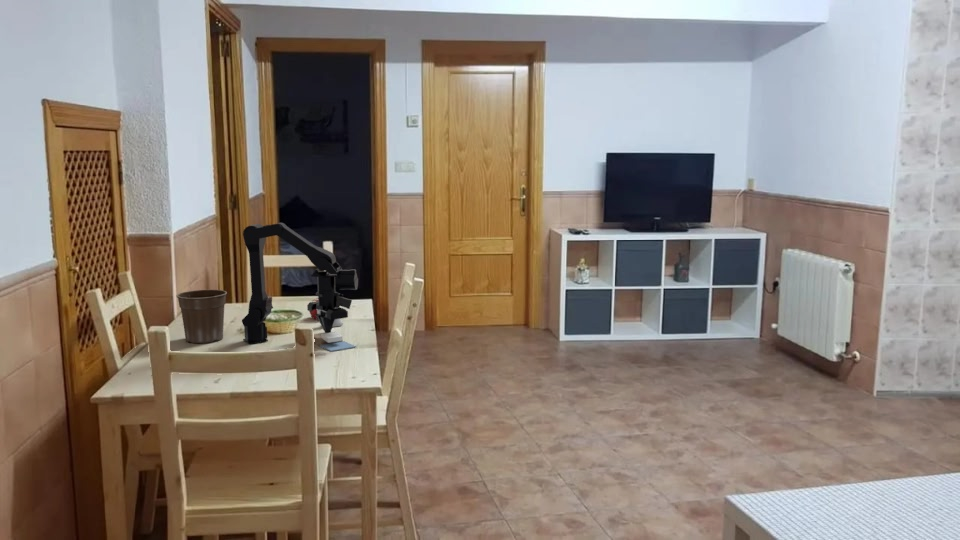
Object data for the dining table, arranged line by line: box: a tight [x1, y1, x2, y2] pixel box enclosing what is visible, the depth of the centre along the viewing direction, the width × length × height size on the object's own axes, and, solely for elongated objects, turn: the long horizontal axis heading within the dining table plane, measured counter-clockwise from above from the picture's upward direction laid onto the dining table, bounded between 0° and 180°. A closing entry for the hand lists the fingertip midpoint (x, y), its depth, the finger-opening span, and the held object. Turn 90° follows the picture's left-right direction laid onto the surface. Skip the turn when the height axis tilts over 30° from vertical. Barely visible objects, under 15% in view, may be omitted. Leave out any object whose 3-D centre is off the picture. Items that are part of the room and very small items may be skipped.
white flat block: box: [320, 331, 343, 343], centre depth 254 cm, size 5×6×2 cm
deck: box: [313, 332, 343, 346], centre depth 258 cm, size 8×9×2 cm
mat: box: [319, 341, 357, 353], centre depth 252 cm, size 9×8×1 cm
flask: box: [332, 318, 344, 328], centre depth 282 cm, size 7×7×10 cm
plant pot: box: [176, 289, 228, 344], centre depth 260 cm, size 16×16×16 cm
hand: (328, 334), depth 257 cm, fingers closed
